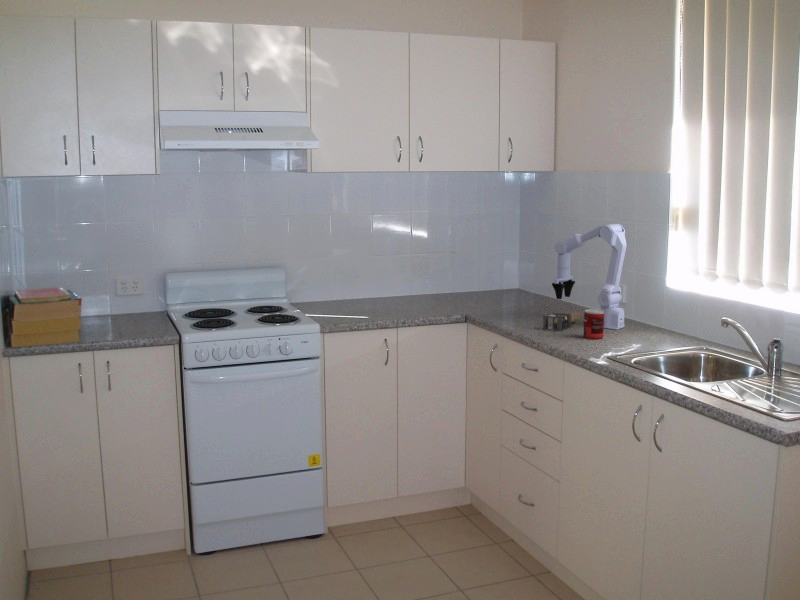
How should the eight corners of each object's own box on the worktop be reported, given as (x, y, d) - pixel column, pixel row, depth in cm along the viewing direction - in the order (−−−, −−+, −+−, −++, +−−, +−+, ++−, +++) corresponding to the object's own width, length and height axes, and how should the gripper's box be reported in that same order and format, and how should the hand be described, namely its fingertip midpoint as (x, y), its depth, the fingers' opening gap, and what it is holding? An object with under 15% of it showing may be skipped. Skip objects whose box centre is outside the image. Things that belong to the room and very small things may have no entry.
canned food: (588, 334, 338) (589, 308, 336) (606, 337, 333) (607, 310, 331) (580, 338, 332) (580, 311, 331) (598, 340, 327) (599, 313, 326)
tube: (581, 321, 364) (581, 312, 364) (561, 327, 351) (561, 318, 350) (573, 320, 367) (573, 311, 366) (553, 326, 353) (553, 317, 353)
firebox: (572, 327, 354) (572, 312, 353) (558, 331, 345) (558, 316, 344) (556, 325, 359) (556, 310, 358) (541, 329, 350) (542, 314, 349)
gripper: (563, 265, 376) (563, 295, 378) (547, 268, 365) (547, 299, 367) (577, 266, 371) (577, 296, 373) (562, 269, 360) (561, 300, 362)
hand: (563, 297), depth 370 cm, fingers open, 7 cm apart
